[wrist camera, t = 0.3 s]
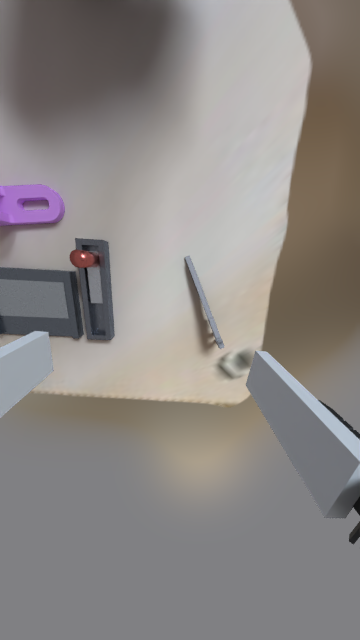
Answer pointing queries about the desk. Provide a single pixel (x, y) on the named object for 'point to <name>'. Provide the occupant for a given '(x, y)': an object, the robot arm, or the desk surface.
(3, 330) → the press bed
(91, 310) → the frame
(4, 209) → the bracket
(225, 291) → the desk surface
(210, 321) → the caliper
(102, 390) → the desk surface
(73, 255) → the lever
